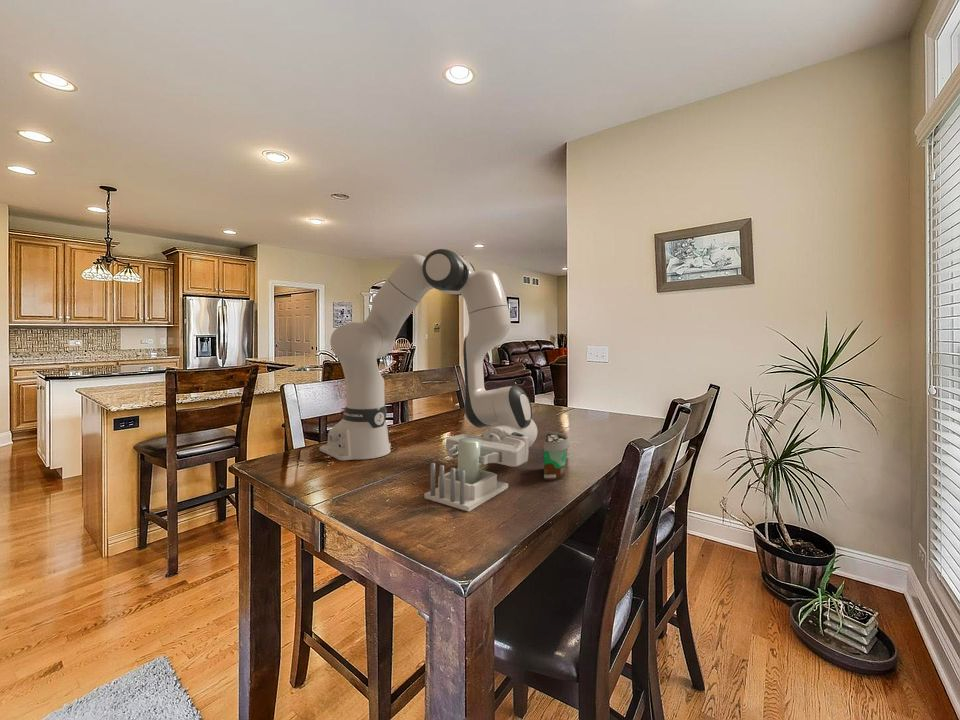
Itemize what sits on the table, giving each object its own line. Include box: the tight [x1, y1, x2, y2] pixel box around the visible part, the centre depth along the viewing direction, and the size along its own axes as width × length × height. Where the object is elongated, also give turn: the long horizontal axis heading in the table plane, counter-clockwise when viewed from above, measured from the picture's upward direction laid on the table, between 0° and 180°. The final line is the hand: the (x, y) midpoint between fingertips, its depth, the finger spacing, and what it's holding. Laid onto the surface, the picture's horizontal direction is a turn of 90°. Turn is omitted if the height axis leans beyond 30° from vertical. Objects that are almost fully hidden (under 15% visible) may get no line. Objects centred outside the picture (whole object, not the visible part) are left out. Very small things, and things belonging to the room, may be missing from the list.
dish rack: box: [423, 462, 509, 512], centre depth 94 cm, size 12×16×8 cm
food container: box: [543, 430, 571, 482], centre depth 106 cm, size 12×6×10 cm, turn 168°
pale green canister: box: [457, 438, 481, 484], centre depth 94 cm, size 5×5×11 cm
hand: (465, 457), depth 93 cm, fingers open, 7 cm apart
